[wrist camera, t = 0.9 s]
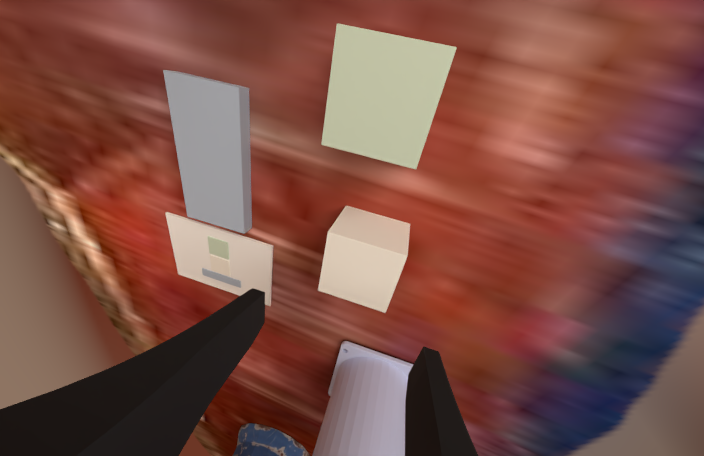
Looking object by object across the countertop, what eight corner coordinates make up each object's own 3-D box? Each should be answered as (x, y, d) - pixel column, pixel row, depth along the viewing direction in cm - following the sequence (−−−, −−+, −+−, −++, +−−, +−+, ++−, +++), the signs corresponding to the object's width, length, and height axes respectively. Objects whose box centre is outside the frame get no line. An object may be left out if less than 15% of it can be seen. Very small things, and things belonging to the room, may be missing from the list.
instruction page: (271, 304, 24) (269, 307, 23) (180, 272, 25) (177, 274, 25) (273, 245, 20) (271, 247, 20) (167, 211, 21) (164, 213, 21)
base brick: (255, 225, 20) (244, 233, 19) (201, 209, 21) (187, 216, 20) (253, 88, 15) (238, 87, 14) (183, 71, 16) (163, 69, 15)
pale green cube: (417, 152, 14) (415, 169, 11) (344, 134, 15) (321, 144, 12) (446, 61, 12) (456, 47, 9) (359, 43, 13) (337, 23, 9)
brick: (391, 273, 19) (385, 312, 15) (336, 256, 19) (317, 290, 16) (410, 223, 17) (407, 255, 13) (346, 204, 17) (327, 231, 14)
